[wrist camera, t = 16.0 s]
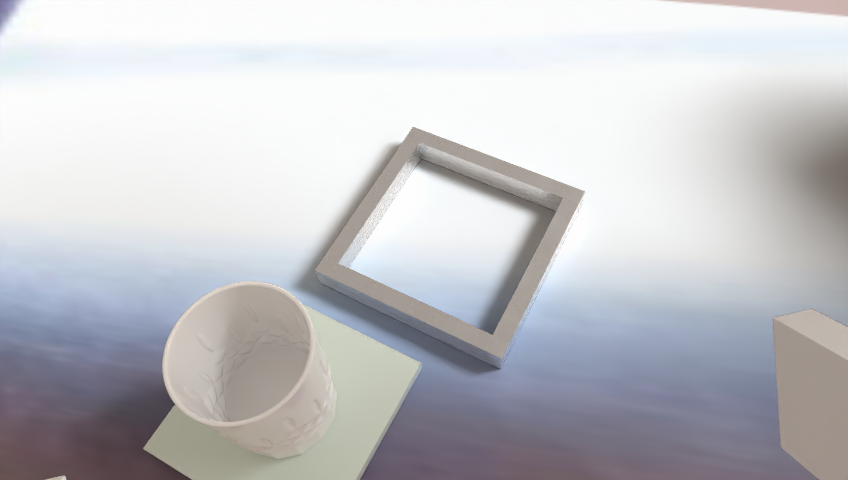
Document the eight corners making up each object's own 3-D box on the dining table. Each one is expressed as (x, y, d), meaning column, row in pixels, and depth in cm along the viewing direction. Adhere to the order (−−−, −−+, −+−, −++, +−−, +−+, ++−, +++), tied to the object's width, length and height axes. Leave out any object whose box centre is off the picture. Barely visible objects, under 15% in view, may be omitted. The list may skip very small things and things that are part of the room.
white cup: (340, 470, 40) (304, 427, 31) (214, 468, 40) (145, 425, 32) (351, 348, 44) (322, 280, 35) (237, 347, 44) (180, 280, 36)
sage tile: (265, 290, 48) (261, 284, 47) (421, 367, 44) (421, 362, 43) (149, 452, 42) (142, 448, 41) (316, 557, 38) (313, 555, 38)
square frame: (415, 142, 54) (413, 126, 52) (581, 206, 50) (584, 191, 48) (320, 283, 48) (314, 270, 46) (500, 369, 43) (501, 358, 42)
